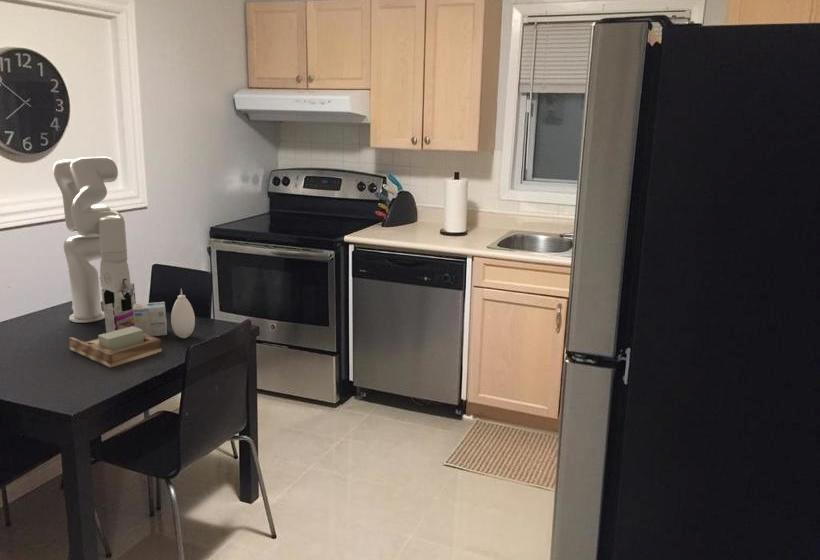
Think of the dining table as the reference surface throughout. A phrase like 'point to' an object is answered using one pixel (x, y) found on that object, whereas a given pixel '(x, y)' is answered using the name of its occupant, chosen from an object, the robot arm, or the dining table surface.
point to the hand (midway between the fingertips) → (118, 306)
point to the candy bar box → (118, 312)
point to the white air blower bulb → (182, 317)
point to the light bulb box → (151, 318)
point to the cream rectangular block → (121, 338)
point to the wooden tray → (117, 356)
